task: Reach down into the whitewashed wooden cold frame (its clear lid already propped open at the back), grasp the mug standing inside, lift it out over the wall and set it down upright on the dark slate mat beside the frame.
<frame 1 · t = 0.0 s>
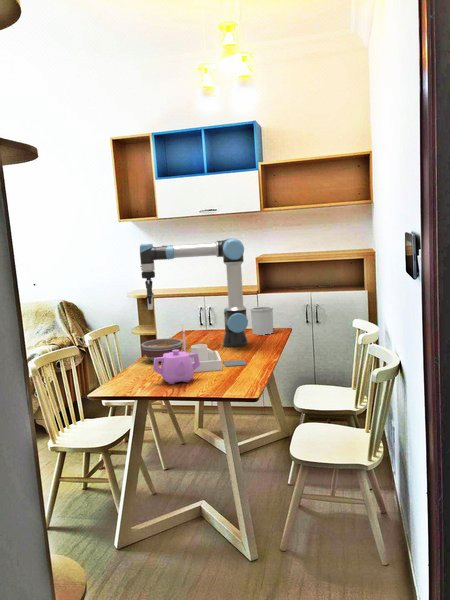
hand: (150, 308, 325), 28 cm above the table, fingers open, 13 cm apart
bowl: (163, 360, 317), on the table
utensil holder: (262, 334, 377), on the table
slate mat: (234, 363, 297), on the table
mug: (203, 366, 297), resting in cold frame
purple rounded pot: (177, 381, 270), on the table
cold frame: (202, 365, 297), on the table
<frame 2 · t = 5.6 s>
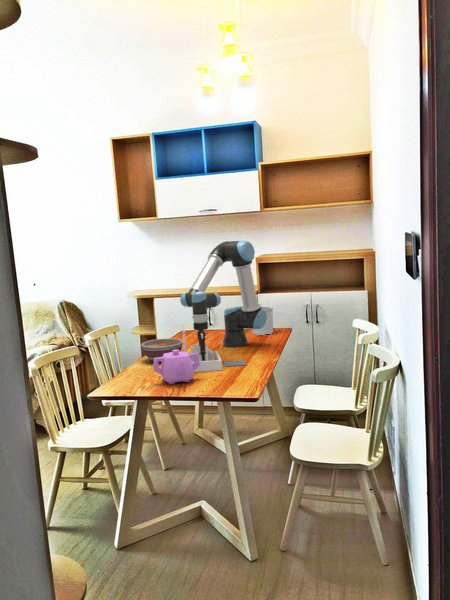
hand: (203, 364, 297), 1 cm above the table, fingers closed on mug, 9 cm apart
mug: (203, 366, 296), resting in cold frame, touching gripper
everything else where it was.
when the fingers open (3 cm above the table, at t = 12.5 s): mug drops 1 cm, resting on slate mat.
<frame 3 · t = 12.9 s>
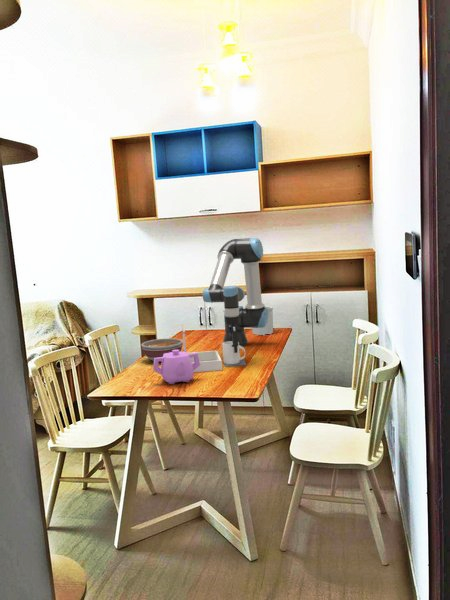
hand: (234, 355, 297), 4 cm above the table, fingers open, 13 cm apart
mug: (234, 363, 297), resting on slate mat
everything else where it was.
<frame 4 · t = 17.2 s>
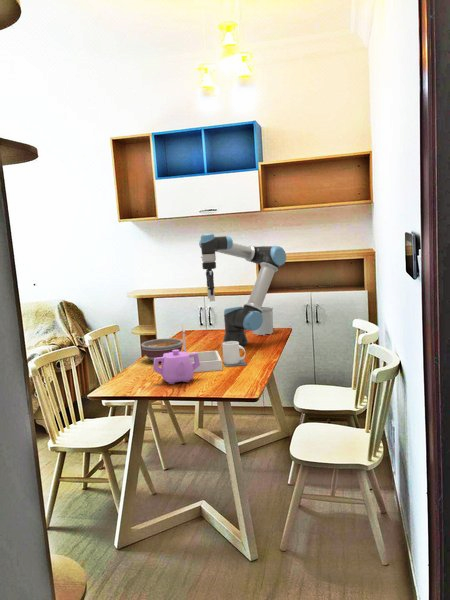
hand: (211, 299, 316), 32 cm above the table, fingers open, 13 cm apart
nothing on the table moved.
at the end: mug 0.5 cm from the slate mat (horizontally); mug resting on slate mat; mug tilted 0° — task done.
